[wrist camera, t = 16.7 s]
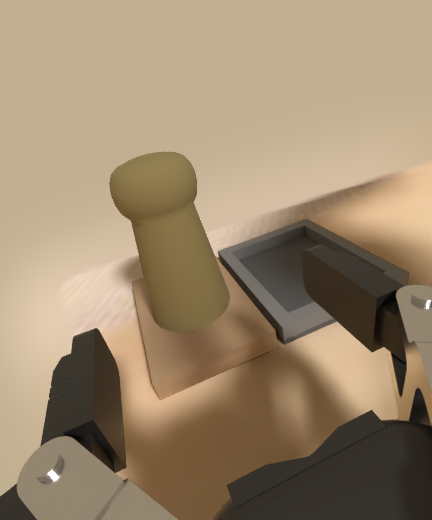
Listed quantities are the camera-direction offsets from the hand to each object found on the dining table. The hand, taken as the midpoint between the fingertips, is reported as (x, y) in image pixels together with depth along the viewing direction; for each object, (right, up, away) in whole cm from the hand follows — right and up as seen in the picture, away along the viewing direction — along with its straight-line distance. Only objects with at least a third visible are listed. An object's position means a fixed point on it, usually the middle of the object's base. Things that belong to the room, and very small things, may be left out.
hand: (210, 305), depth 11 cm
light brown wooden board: (-1, -3, +13) cm, 13 cm away
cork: (-2, -2, +12) cm, 12 cm away
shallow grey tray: (+7, 0, +14) cm, 16 cm away
